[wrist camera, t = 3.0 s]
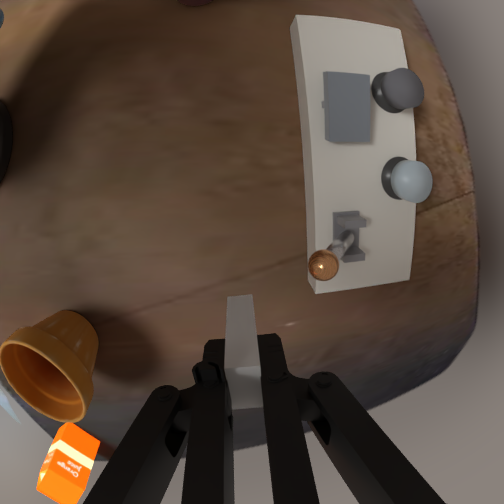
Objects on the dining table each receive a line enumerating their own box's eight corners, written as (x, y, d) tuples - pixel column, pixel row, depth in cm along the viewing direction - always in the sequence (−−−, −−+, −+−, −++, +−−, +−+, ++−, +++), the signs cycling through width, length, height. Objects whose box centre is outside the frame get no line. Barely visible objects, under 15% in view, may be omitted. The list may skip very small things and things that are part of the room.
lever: (337, 246, 31) (303, 283, 24) (337, 223, 31) (302, 253, 23) (359, 248, 30) (333, 288, 22) (360, 225, 29) (334, 257, 21)
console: (307, 279, 37) (322, 306, 31) (289, 28, 27) (301, 3, 20) (395, 268, 38) (421, 289, 31) (385, 38, 27) (412, 21, 20)
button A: (382, 107, 25) (392, 105, 23) (378, 69, 24) (386, 64, 22) (415, 111, 25) (426, 110, 23) (411, 74, 24) (421, 71, 22)
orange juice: (68, 420, 46) (40, 488, 27) (100, 441, 48) (79, 510, 30) (58, 428, 47) (32, 490, 28) (88, 448, 50) (67, 510, 31)
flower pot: (79, 279, 35) (30, 328, 23) (132, 356, 40) (107, 418, 28) (27, 309, 37) (-15, 353, 24) (75, 374, 41) (47, 425, 29)
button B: (390, 200, 28) (399, 203, 27) (390, 159, 27) (399, 160, 25) (421, 199, 29) (431, 202, 27) (422, 160, 27) (432, 162, 25)
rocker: (324, 139, 27) (329, 141, 26) (322, 72, 23) (327, 71, 22) (364, 139, 27) (369, 142, 26) (363, 75, 24) (369, 74, 22)
